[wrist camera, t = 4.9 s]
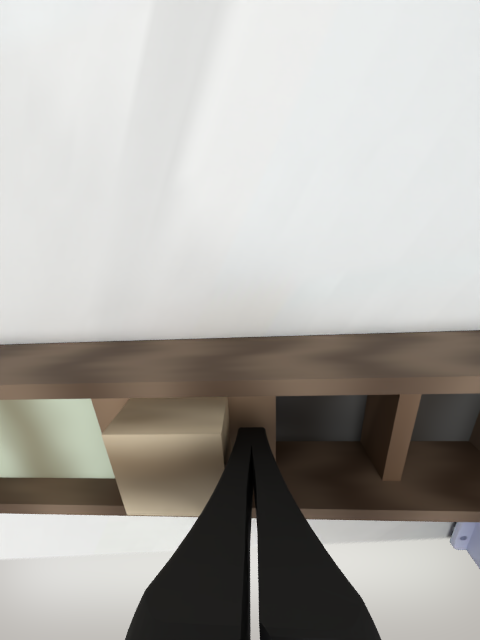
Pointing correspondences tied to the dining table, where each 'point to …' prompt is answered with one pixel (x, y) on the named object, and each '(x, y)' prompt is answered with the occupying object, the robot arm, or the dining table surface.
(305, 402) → the brown wooden long box
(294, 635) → the robot arm
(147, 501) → the beech block
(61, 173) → the dining table surface
